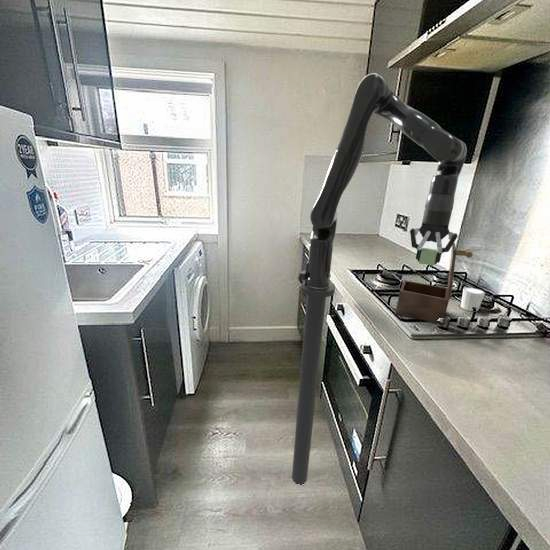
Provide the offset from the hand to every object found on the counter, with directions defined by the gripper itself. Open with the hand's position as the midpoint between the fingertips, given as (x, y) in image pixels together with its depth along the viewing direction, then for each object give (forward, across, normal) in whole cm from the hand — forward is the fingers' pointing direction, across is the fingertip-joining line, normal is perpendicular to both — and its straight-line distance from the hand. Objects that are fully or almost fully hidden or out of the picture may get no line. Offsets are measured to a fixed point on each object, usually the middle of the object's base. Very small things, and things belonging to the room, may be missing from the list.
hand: (426, 262), depth 98 cm
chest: (+19, -1, -3) cm, 20 cm away
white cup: (+19, -17, -18) cm, 32 cm away
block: (0, 0, 0) cm, 0 cm away
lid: (+2, -7, -3) cm, 8 cm away
